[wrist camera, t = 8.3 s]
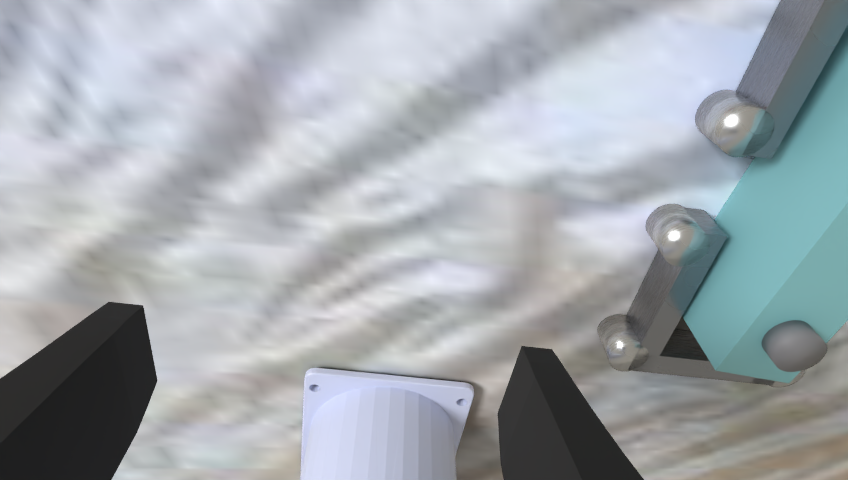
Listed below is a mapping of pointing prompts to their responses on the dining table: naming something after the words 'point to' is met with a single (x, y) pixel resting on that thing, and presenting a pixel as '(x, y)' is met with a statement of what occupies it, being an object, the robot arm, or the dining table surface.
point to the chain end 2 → (774, 79)
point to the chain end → (670, 301)
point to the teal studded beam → (783, 246)
